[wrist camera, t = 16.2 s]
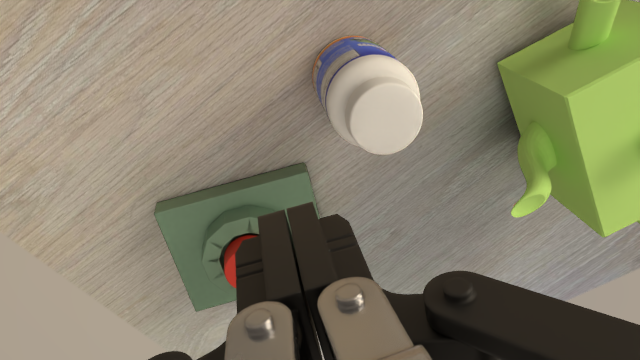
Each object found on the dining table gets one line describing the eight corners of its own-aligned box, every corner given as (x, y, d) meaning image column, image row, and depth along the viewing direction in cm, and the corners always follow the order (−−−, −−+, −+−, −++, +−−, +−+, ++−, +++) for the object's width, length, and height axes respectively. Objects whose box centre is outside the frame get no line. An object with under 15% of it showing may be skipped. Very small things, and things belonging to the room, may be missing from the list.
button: (232, 283, 38) (232, 298, 36) (217, 242, 36) (217, 256, 35) (281, 269, 38) (283, 283, 37) (267, 228, 37) (269, 241, 35)
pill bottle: (403, 68, 36) (459, 112, 28) (351, 126, 38) (389, 185, 29) (347, 15, 34) (388, 45, 26) (293, 79, 36) (316, 128, 27)
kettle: (593, 198, 44) (700, 277, 34) (442, 164, 40) (512, 242, 30) (690, 19, 38) (854, 51, 28) (525, -40, 35) (646, -26, 25)
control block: (196, 298, 42) (194, 328, 39) (156, 202, 38) (150, 227, 35) (330, 260, 42) (338, 286, 39) (304, 162, 38) (311, 182, 35)
